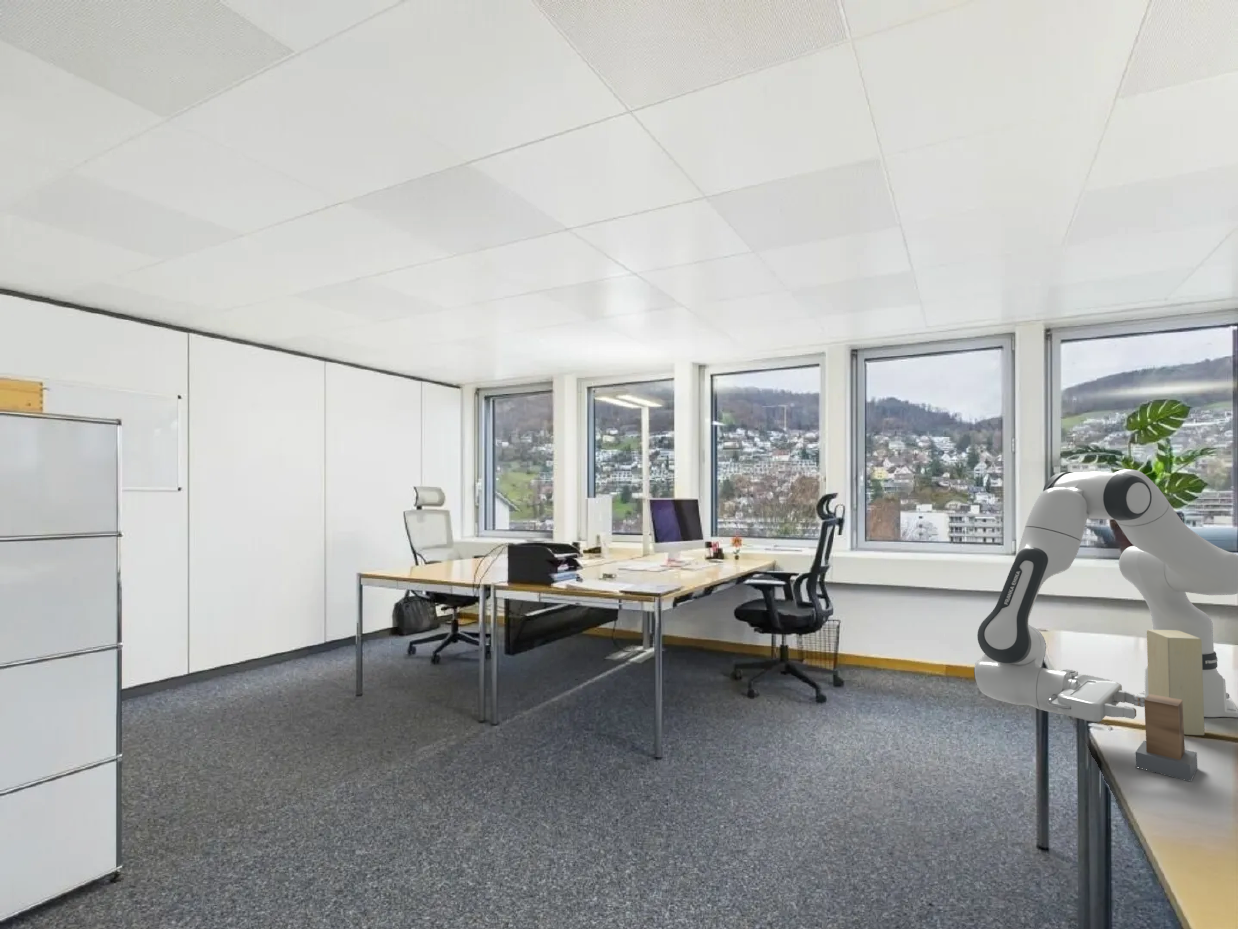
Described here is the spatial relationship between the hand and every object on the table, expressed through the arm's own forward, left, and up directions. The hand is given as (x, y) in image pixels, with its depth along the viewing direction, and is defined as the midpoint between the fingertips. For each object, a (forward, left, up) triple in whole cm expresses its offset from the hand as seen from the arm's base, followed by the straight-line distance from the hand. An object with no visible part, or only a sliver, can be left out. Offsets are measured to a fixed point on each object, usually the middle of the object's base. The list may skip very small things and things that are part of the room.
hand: (1140, 708), depth 128 cm
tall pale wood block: (-27, +2, -11) cm, 29 cm away
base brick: (0, +4, -11) cm, 11 cm away
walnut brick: (0, +4, -8) cm, 8 cm away
